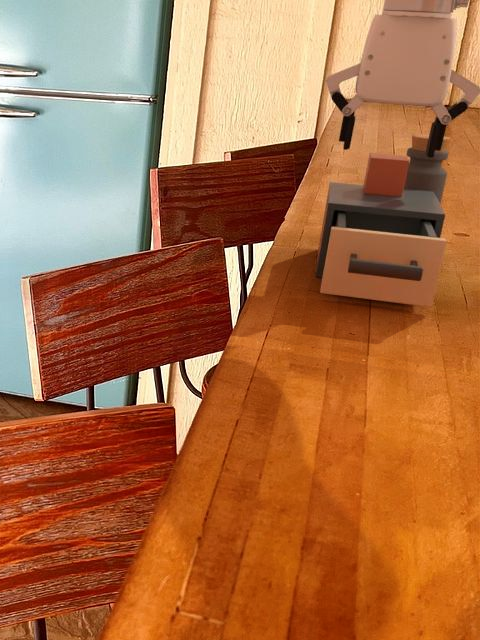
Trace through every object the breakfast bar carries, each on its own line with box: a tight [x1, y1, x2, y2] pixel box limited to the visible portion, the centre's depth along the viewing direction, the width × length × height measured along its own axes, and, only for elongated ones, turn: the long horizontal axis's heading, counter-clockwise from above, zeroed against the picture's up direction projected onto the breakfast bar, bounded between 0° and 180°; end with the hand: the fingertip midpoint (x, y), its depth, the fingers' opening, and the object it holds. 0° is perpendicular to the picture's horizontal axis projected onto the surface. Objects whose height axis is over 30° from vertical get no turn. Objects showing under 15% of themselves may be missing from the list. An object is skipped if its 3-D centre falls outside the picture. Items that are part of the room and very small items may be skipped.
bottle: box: [404, 133, 451, 206], centre depth 121 cm, size 6×6×15 cm
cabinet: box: [315, 181, 446, 279], centre depth 110 cm, size 15×13×9 cm
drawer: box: [319, 211, 448, 308], centre depth 99 cm, size 18×11×7 cm, turn 160°
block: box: [363, 152, 410, 197], centre depth 111 cm, size 4×4×4 cm
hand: (387, 152), depth 110 cm, fingers open, 9 cm apart
